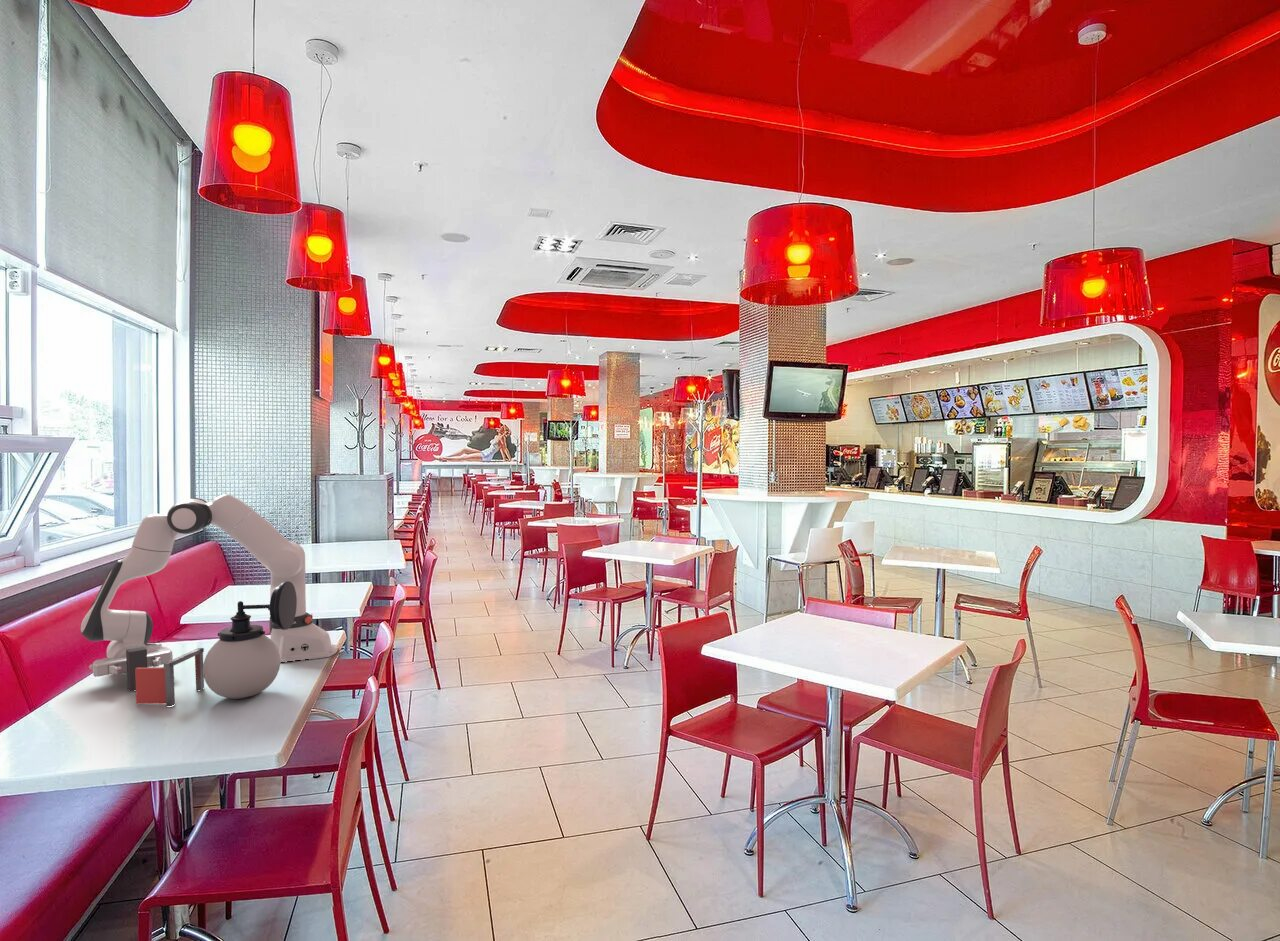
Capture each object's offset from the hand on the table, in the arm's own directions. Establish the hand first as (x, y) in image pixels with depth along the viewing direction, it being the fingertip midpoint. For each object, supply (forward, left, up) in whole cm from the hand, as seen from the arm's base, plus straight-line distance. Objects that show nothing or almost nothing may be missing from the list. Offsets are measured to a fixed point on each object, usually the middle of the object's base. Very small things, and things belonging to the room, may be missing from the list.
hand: (137, 667), depth 218 cm
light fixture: (-35, +16, -7) cm, 39 cm away
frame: (-17, +13, -7) cm, 22 cm away
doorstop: (0, -1, -7) cm, 7 cm away
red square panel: (-10, +16, -6) cm, 20 cm away
